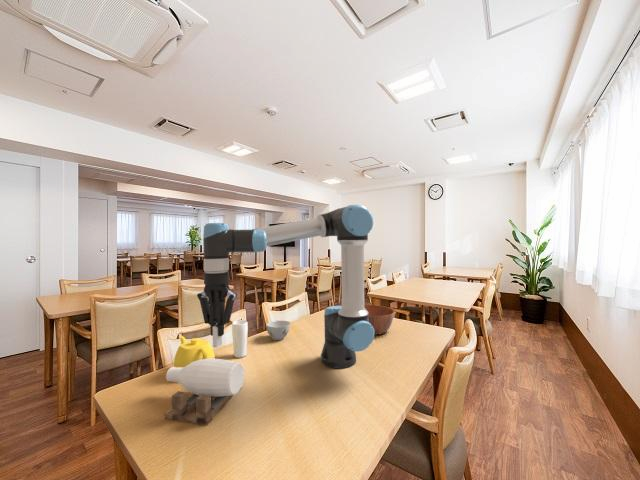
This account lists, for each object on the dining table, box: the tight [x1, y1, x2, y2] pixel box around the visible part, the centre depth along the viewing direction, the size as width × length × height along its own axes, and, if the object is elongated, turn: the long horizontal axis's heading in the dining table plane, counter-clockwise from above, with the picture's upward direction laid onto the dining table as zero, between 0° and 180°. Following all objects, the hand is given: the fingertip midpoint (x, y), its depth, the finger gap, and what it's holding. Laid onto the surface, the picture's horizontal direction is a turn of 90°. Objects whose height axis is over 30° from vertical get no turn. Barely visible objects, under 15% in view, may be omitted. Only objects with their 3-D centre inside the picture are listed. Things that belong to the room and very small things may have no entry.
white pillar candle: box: [231, 319, 249, 359], centre depth 122 cm, size 7×7×15 cm
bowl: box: [364, 304, 395, 336], centre depth 154 cm, size 25×25×11 cm
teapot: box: [173, 335, 216, 368], centre depth 108 cm, size 14×20×13 cm
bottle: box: [165, 358, 245, 398], centre depth 89 cm, size 11×11×25 cm
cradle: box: [164, 386, 243, 426], centre depth 87 cm, size 14×19×7 cm
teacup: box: [265, 320, 291, 341], centre depth 143 cm, size 15×12×8 cm
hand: (217, 345), depth 86 cm, fingers closed
